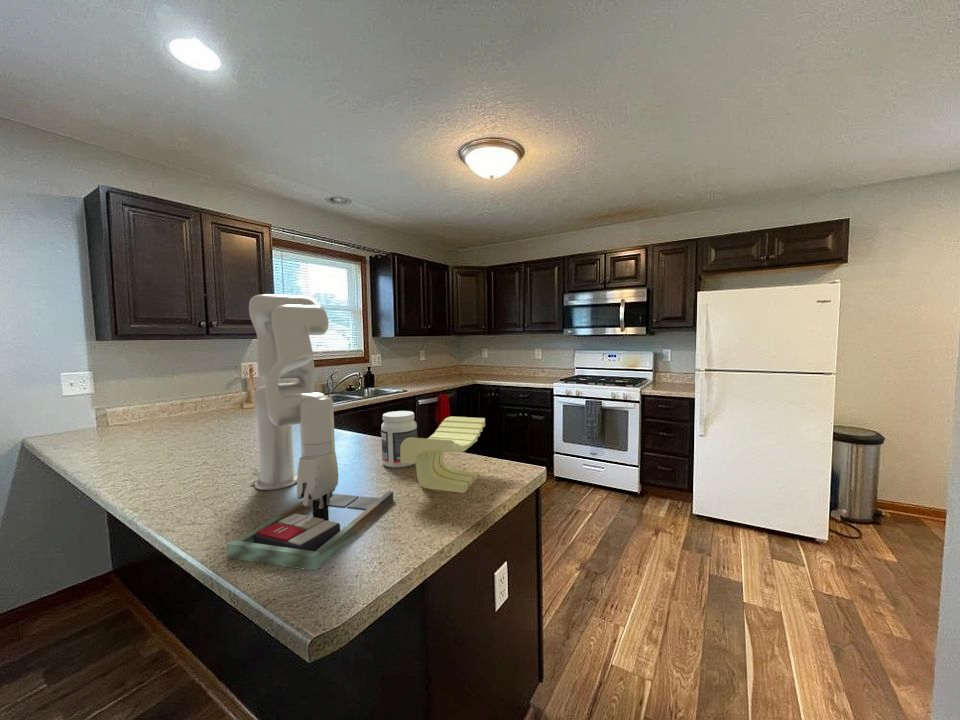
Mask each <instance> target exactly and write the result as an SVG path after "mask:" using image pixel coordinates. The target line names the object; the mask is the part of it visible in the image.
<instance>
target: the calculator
mask: <svg viewBox="0 0 960 720" xmlns="http://www.w3.org/2000/svg"><path fill="white" fill-rule="evenodd" d="M339 531H341V524H340V523H339V522H335V521H331V520H329V521H327V520H326V521H325V520H324V519H321V518H316V517H313V516H308V515H305V514H302V515H301V514H293V515H291V516H289V517H287V518H285V519H283V520H280V521H279V522H278V523H274V524H272V525H270V526H268V527H266V528H264V529H262V530H259V531H258V532H257V534H255V535H254V543H257V544H265V545H272V546H279V547H287V548H294V549H301V550H309V551H316V550H318V549H319V548H320V547H321V546H322V545H324V544H325V543H326V542H327V541H329V540H330V539H331V538H332V537H333V536H335V535H336V534H337V533H338V532H339Z"/></svg>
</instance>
